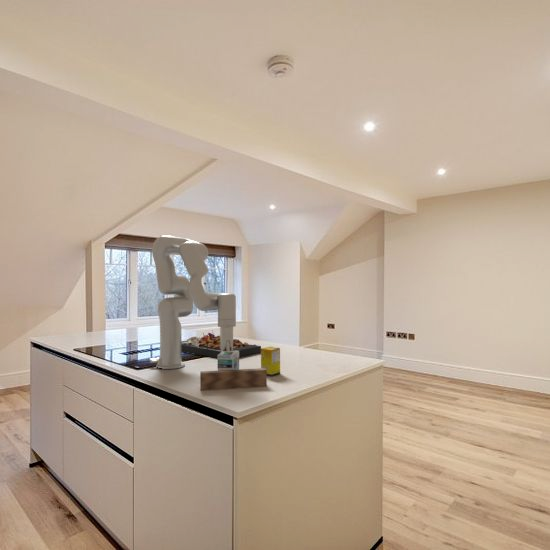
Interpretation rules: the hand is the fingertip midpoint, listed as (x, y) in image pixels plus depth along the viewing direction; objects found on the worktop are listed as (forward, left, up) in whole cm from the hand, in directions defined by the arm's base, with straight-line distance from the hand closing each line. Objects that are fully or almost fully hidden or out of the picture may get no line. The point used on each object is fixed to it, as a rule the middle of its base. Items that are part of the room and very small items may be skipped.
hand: (226, 366), depth 154 cm
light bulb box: (0, -9, -3) cm, 10 cm away
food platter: (-2, +53, -4) cm, 53 cm away
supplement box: (+18, -4, -3) cm, 19 cm away
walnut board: (+1, -20, -3) cm, 20 cm away
